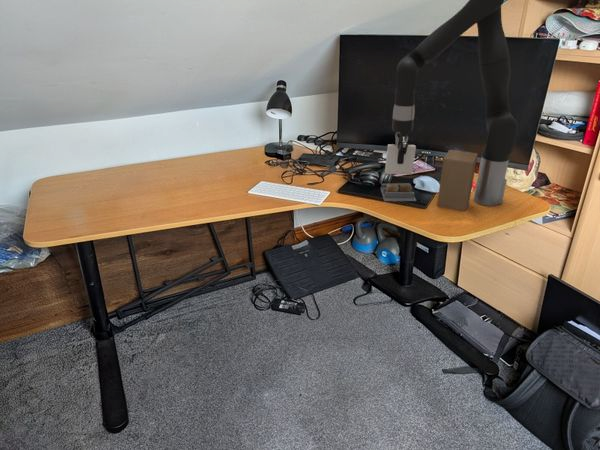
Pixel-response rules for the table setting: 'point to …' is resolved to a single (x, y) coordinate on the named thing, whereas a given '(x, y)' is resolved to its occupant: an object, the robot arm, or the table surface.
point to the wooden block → (456, 179)
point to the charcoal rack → (397, 194)
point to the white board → (392, 157)
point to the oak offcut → (392, 188)
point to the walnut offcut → (405, 188)
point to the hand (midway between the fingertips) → (399, 162)
